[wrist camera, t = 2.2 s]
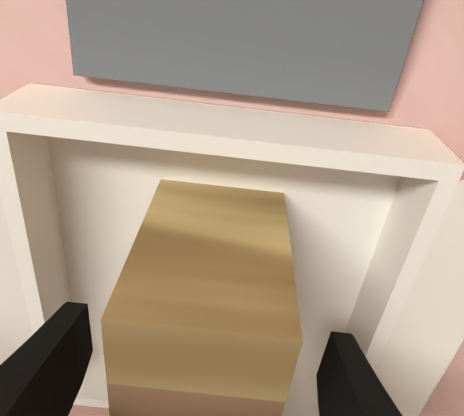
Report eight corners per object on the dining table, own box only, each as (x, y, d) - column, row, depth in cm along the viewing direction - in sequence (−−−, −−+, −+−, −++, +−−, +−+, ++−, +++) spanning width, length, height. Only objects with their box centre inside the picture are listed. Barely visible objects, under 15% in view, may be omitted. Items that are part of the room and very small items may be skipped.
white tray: (18, 345, 18) (-12, 395, 16) (-52, 73, 12) (-118, 98, 10) (387, 384, 19) (404, 439, 16) (507, 138, 12) (561, 176, 10)
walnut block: (255, 339, 17) (255, 505, 12) (159, 328, 17) (117, 491, 12) (283, 192, 13) (303, 341, 8) (160, 179, 13) (100, 320, 8)
